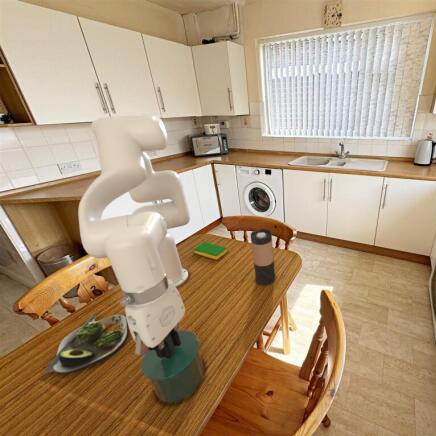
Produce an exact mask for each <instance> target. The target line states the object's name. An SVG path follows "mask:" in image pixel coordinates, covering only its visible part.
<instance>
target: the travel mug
mask: <svg viewBox="0 0 436 436" xmlns="http://www.w3.org/2000/svg"><path fill="white" fill-rule="evenodd" d="M250 243H251V252H252V261H253V267H254V273H255V279H256V282H257V283H258V284H260V285H270V284H271V283H273V282H274V280H275V277H276V276H275V257H274V256H275V255H274V247H273V234H272V231H271V230H269V229H268V228H259V230H256V231H255V230H254V231H251V233H250Z"/></svg>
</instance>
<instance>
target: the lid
mask: <svg viewBox="0 0 436 436" xmlns="http://www.w3.org/2000/svg"><path fill="white" fill-rule="evenodd" d="M177 332H178V335H179V339H180V342H181V345H180V346H175V344H174V341H173V338H172V335H171V333H170V332H169V333H168V335H167V336H166V337H165V338H164V339H163V341H164V344H167V345H168V347H169V350H170V353H171V357H170V359H167V358H164V357H163V358H159V357H158V356H157V354H156V352H155V350H152V351H151V350H150V351H148V352H147V353H146V354H144V355H143V356H142V361H141V371H142V373H143V375H144V376H145V378H147V379H148V380H149V379H151V380H154V381H162V380H167V379H170V378H172V377H174V376H176V375H178V374H180V373H181V372H183V371H184V370H185V369H186V368H187V367H188V366H189V365H190V364H191V363H192V362H193V360H194V359H195V357H196V355H197V352H198V349H200V343H199V339H198V337H197V335H196V334H194V333H193V332H191V331H188V330H178V331H177Z"/></svg>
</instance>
